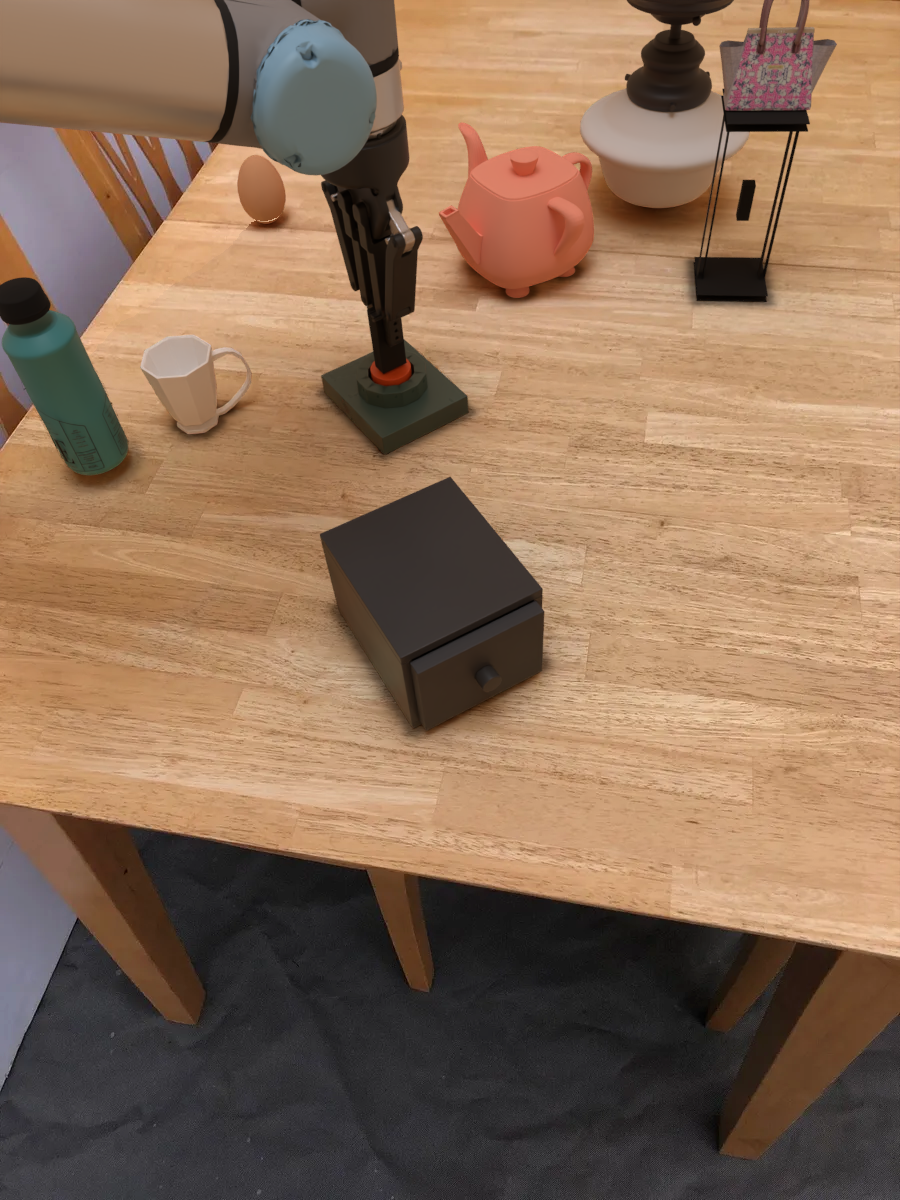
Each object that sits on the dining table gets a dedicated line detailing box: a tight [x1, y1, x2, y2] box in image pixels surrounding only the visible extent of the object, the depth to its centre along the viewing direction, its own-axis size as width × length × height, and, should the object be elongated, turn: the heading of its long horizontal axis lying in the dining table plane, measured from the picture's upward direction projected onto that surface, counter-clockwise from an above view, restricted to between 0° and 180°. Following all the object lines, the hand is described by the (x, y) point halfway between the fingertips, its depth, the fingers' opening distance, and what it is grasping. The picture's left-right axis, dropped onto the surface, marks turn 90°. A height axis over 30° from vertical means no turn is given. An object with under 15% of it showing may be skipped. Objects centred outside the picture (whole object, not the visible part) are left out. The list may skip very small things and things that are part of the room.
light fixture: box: [579, 0, 751, 209], centre depth 105 cm, size 20×20×25 cm
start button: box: [370, 359, 412, 386], centre depth 92 cm, size 4×4×2 cm
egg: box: [236, 154, 287, 225], centre depth 114 cm, size 6×6×8 cm
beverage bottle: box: [0, 277, 130, 476], centre depth 83 cm, size 6×7×20 cm
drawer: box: [410, 601, 545, 732], centre depth 71 cm, size 14×10×8 cm
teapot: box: [438, 122, 595, 299], centre depth 103 cm, size 16×17×14 cm
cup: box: [139, 334, 253, 435], centre depth 92 cm, size 7×10×8 cm
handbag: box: [693, 0, 838, 303], centre depth 92 cm, size 10×8×30 cm
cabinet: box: [319, 476, 544, 729], centre depth 72 cm, size 14×12×10 cm
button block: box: [320, 338, 469, 455], centre depth 93 cm, size 12×10×4 cm
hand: (390, 364), depth 91 cm, fingers closed
